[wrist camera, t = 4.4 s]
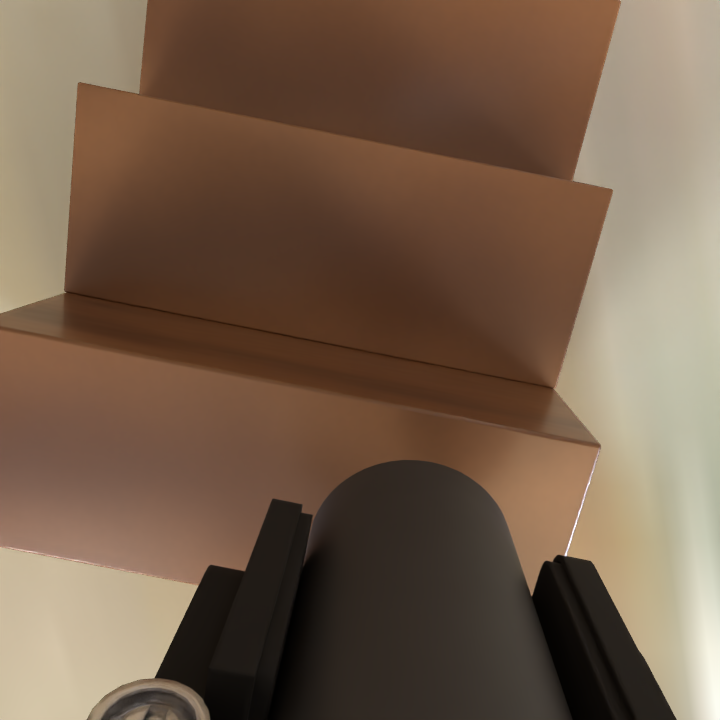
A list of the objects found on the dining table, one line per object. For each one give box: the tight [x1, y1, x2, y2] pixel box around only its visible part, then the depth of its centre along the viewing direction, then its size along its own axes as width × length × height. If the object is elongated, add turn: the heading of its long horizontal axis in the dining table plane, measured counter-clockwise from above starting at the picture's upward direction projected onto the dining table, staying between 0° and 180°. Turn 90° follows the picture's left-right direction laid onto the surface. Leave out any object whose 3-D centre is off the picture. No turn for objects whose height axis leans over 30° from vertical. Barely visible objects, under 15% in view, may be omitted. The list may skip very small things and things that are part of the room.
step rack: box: [0, 0, 621, 596], centre depth 18 cm, size 16×14×11 cm
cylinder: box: [268, 460, 573, 720], centre depth 9 cm, size 4×4×7 cm
